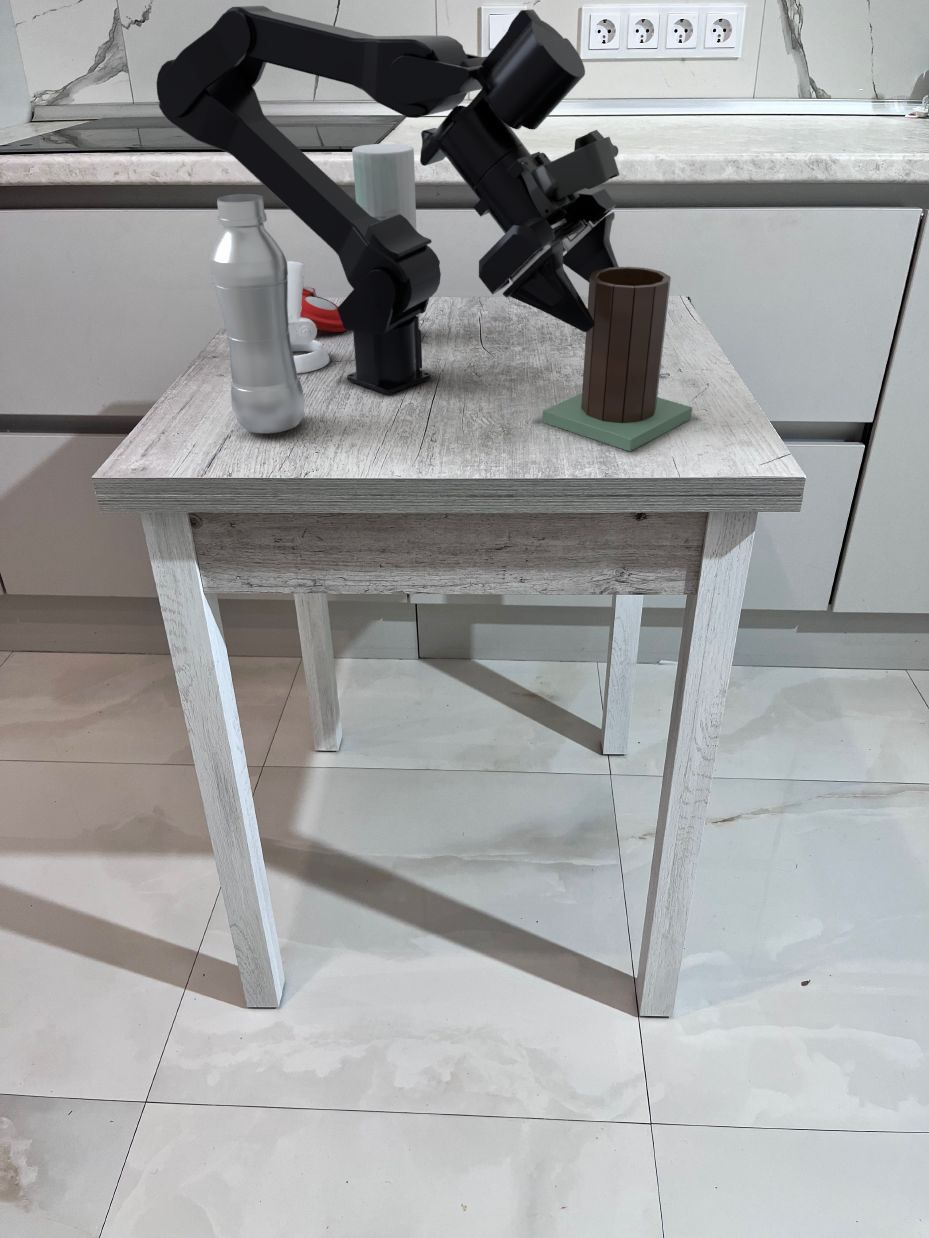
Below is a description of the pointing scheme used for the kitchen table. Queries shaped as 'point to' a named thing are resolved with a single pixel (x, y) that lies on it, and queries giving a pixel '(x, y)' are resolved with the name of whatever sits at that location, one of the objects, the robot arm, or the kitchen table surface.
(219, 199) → the plastic bottle
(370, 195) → the spray can
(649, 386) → the sleeve
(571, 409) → the peg stand
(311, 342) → the white upright ring-based piece
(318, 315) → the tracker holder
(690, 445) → the kitchen table surface
